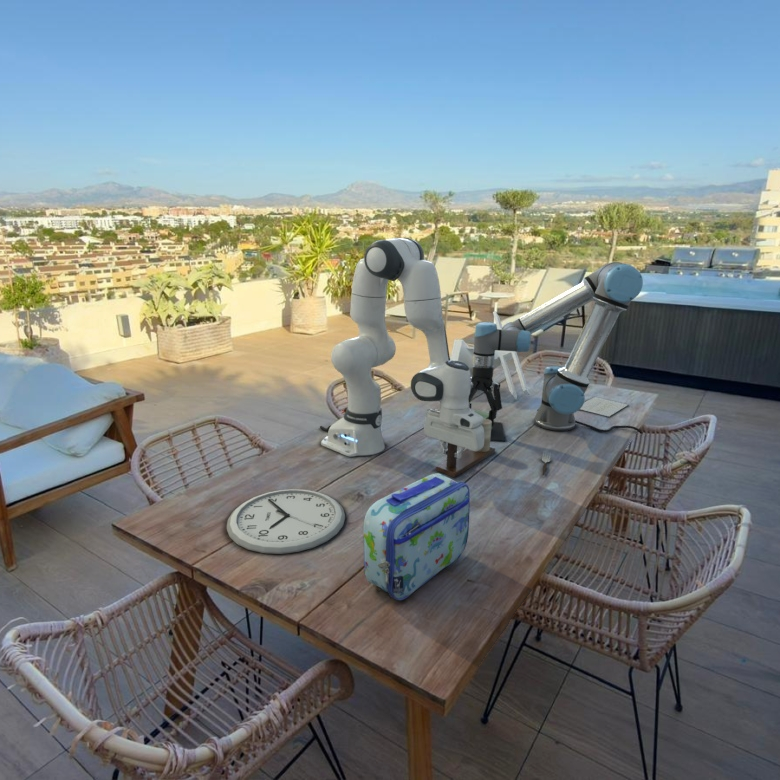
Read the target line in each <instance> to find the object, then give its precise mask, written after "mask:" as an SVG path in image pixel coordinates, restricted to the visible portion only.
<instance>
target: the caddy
mask: <svg viewBox="0 0 780 780" xmlns="http://www.w3.org/2000/svg"><path fill="white" fill-rule="evenodd" d="M481 425H482V426H483V428H484V446H483V448H482V449H480V450H479V451H472V450H469V449H466V448H465V449H464V450H463V452H462V453H461V458H459V459H457V458H455V457H454V456H455V455H454V453H455V452H457V451H458V446H457V445H454V444H450V443H447V455H446V460H445V461H443V462H441V463H440V464H438V465H436V466H435V471H436V472H437V473H440V474H443V475H447V476H449V477H453V478H456V477H458V476H459V475H461V474H462V473H464V472H466V471H467V470H470V468H473V467H474V466H476V465H477V464H479V463H480V462H482V461H483V460H485V459H487V458H488V457H490V456H491V455H494V454H496V448H495V447H491V441H490V438H491V426H492V421H491V420H489V419H485V418H484V421H483V423H482V424H481Z"/></svg>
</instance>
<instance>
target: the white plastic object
mask: <svg viewBox="0 0 780 780" xmlns="http://www.w3.org/2000/svg"><path fill="white" fill-rule="evenodd" d="M492 315H493V319H494V321H495V324H496V325H497V329H500V330H502V328H503V325H502V321H501V318H500V315H499V314H498V312H497V311H496V310H495V311H492ZM473 355H474V346H469V345H468V343H466V342H465V340H464V339H463V338H460V339H458V338H454V340H453V344H452V349H451V353H450V360H453V361H459V362H462V363H464V364H466V365H467V366H468V367H469V370H470V375H471V377H472V376H473V375H472V369H473V365H474V364H473ZM510 360H513V363H514V366H515V369H516V372H517V376H518V380H519V382H520V385H521V389H522V391H523V393H524V395H525V396H526V397H528V396H531V395H530V390H529V388H528V387H529V386H528V384H527V381H526V378H525V375H524V371H523V369H522V368H523V367H522V366H521V362H520V359H519V355H518V352H515V351H499V350H495V355H494V365H493V367H494V369H493V371H495V370H496V369H497V368H499V367H500V366H502V370H503V373H504V376H505V380H506V383H507V386H508V390H509V393H510V394H511V395H512V397H513V398H514V399H515V400H517V392H516V391H517V390H516V388H515V385H514V381H513V378H512V375H511V371H510V369H509V365H508V361H510ZM471 383H472V381H471Z"/></svg>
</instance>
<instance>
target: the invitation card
mask: <svg viewBox="0 0 780 780" xmlns="http://www.w3.org/2000/svg"><path fill="white" fill-rule="evenodd" d="M628 406H629V404H627V403H623V402H618V401H614V400H609V399H605V398H601V397H596V396H593V397H592V398H590V399H588V400H586V401H584V404H583V406H582V407H581V408H580V409H579V410H581V411H584V412H587V413H593V414H596V415H600V416H604V417H608V418H609V417H611V416H613V415H614V414H616V413H617V412H619V411H621V410H623V409H624V408H626V407H628Z"/></svg>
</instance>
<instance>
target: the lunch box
mask: <svg viewBox="0 0 780 780" xmlns="http://www.w3.org/2000/svg"><path fill="white" fill-rule="evenodd" d="M470 497H471V496H470V488H469V485H468V484H467V483H466V482H461V481H460V482H458V481H455V480H454V479H452V478H450V477H448V476H446V475H445V474H443V473H440V472H437V473H432V474H429V475H427V476H424V477H423V478H421V479H418V480H417V481H414V482H412V483H410V484H408V485H406V486H404V487H402V488H400V489H398V490H396V491H394V492H392V493H390V494H388V495H386V496H383V497H382V498H380V499H378V500H376V501H375V502H373V503H372V504H371V505H370V506H369V508H368V510H367V511H366V513H365V516H364V520H363V528H362V529H363V531H362V532H363V533H362V534H363V536H362V537H363V566H364V567H363V569H364V576H365V579H366V581H367V582H368V583H370V584H372V585H374V586H376V587H378V588H380V589H381V590H383V591H384V592H386V593H387V594H388V595H389V596H390V597H391V598H393V599H395V600H396V601H404V600H405V599H407V598H409V597H410V596H411V595H412V594H413V593H414V592H416V591H417V590H418V589H419V588H421V587H422V586H424V585H425V584H426V583H428V582H429V581H430V580H431V579H432V578H434V577H435V576H437V574H439V572H441V571H442V570H444V569H445V568H447V567H448V566H450V565H452V564H453V563H454V562H455V561H457V560H458V559H459V558H460V557H461V555H462V554H463V552H464V550H465V549H466V546H467V543H468V539H469V529H470V527H469V526H470V511H471V509H470V507H471V504H470V503H471V501H470Z"/></svg>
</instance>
